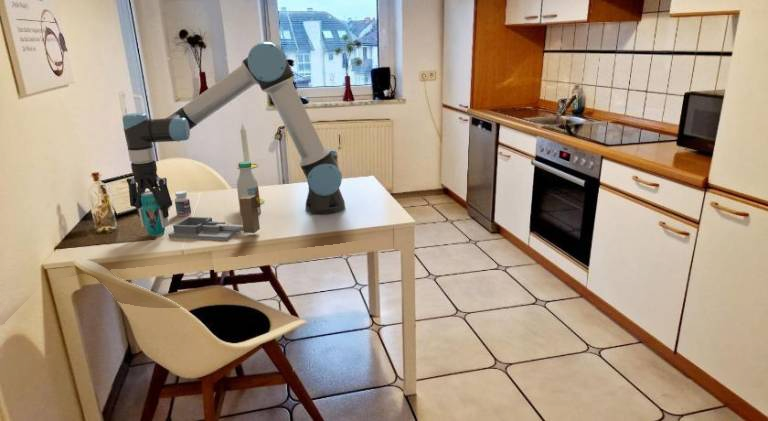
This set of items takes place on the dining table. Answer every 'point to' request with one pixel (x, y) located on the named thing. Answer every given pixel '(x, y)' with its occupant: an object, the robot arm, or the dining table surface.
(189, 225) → the dock
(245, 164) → the milk bottle
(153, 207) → the beverage can
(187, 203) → the pill bottle
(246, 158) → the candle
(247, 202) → the lock pin
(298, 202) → the dining table surface
